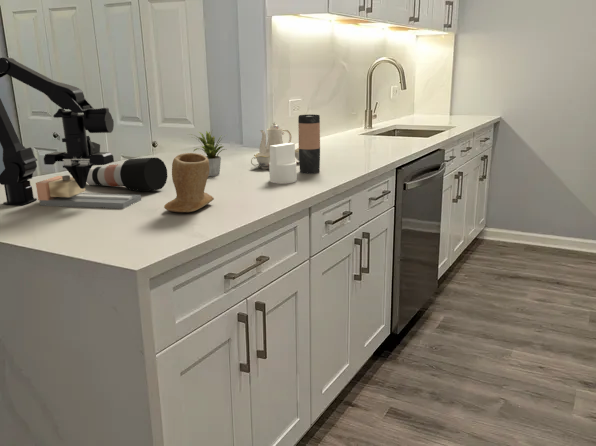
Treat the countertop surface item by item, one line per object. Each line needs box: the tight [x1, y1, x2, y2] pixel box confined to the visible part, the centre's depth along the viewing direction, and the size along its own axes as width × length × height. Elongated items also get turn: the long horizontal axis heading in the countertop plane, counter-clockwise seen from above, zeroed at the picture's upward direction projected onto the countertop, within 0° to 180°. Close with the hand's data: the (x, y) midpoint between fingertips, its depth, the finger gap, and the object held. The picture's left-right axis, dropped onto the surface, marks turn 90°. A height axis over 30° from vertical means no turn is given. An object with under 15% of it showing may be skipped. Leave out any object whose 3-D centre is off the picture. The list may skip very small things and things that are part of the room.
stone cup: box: [163, 152, 215, 213], centre depth 145 cm, size 15×12×15 cm
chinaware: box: [250, 121, 299, 170], centre depth 209 cm, size 28×17×17 cm, turn 132°
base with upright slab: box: [269, 142, 298, 184], centre depth 179 cm, size 9×9×12 cm
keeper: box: [49, 174, 86, 197], centre depth 156 cm, size 6×8×5 cm
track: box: [35, 175, 142, 209], centre depth 155 cm, size 26×10×6 cm, turn 78°
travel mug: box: [297, 114, 321, 175], centre depth 192 cm, size 8×8×20 cm
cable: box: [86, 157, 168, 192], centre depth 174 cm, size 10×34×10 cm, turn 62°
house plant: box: [188, 130, 227, 177], centre depth 191 cm, size 14×14×16 cm
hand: (82, 188), depth 155 cm, fingers closed
